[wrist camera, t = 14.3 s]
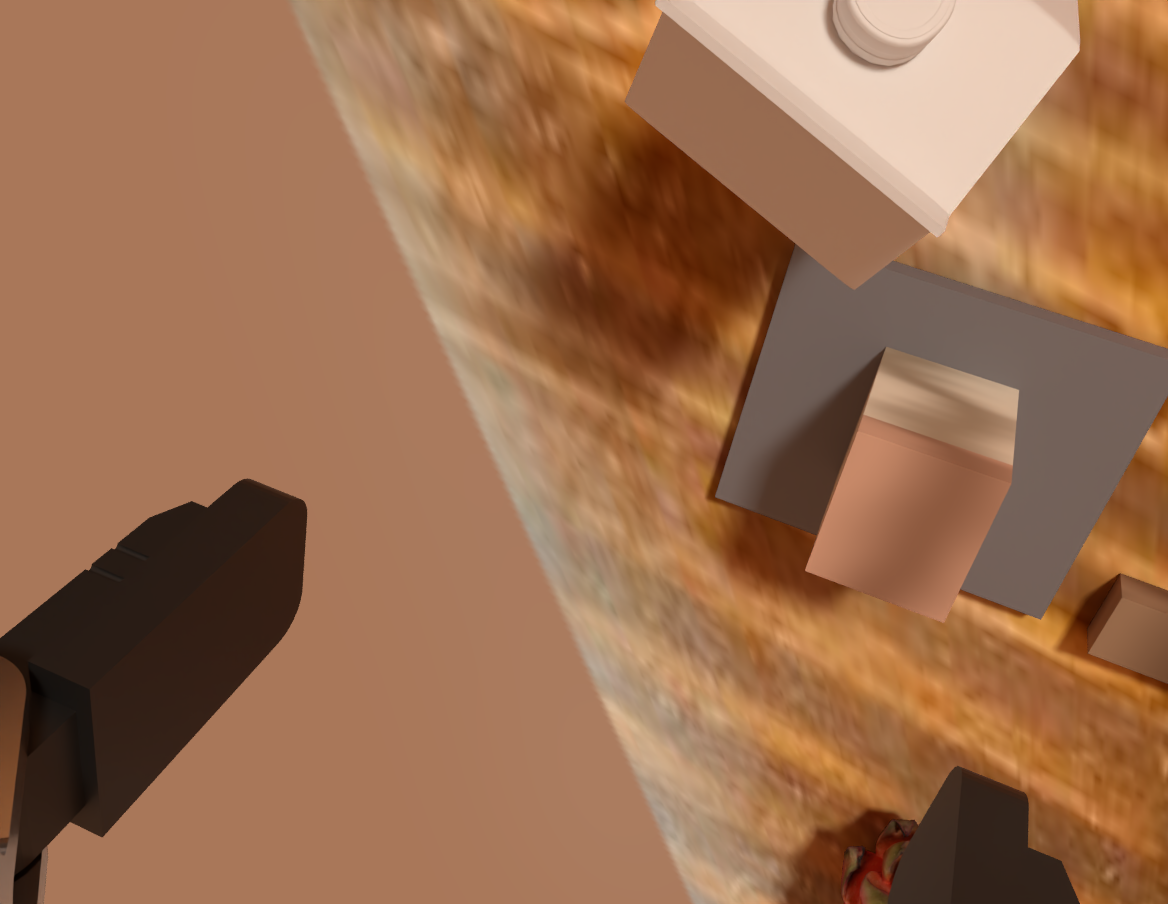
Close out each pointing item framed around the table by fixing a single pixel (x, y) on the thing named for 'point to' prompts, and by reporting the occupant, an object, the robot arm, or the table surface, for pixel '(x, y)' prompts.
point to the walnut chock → (1132, 628)
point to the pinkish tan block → (918, 484)
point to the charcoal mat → (969, 344)
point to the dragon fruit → (875, 865)
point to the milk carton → (850, 108)
